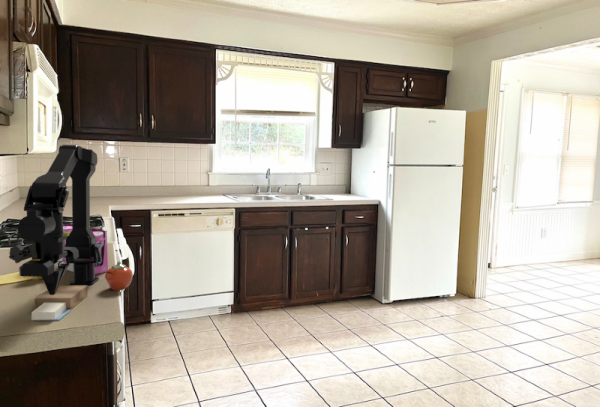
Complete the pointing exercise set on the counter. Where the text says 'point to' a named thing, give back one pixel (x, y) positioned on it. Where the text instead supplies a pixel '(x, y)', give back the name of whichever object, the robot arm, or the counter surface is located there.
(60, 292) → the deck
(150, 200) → the counter surface
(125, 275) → the tomato
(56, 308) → the white rectangular block
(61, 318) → the mat
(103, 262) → the gum box
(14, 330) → the counter surface
